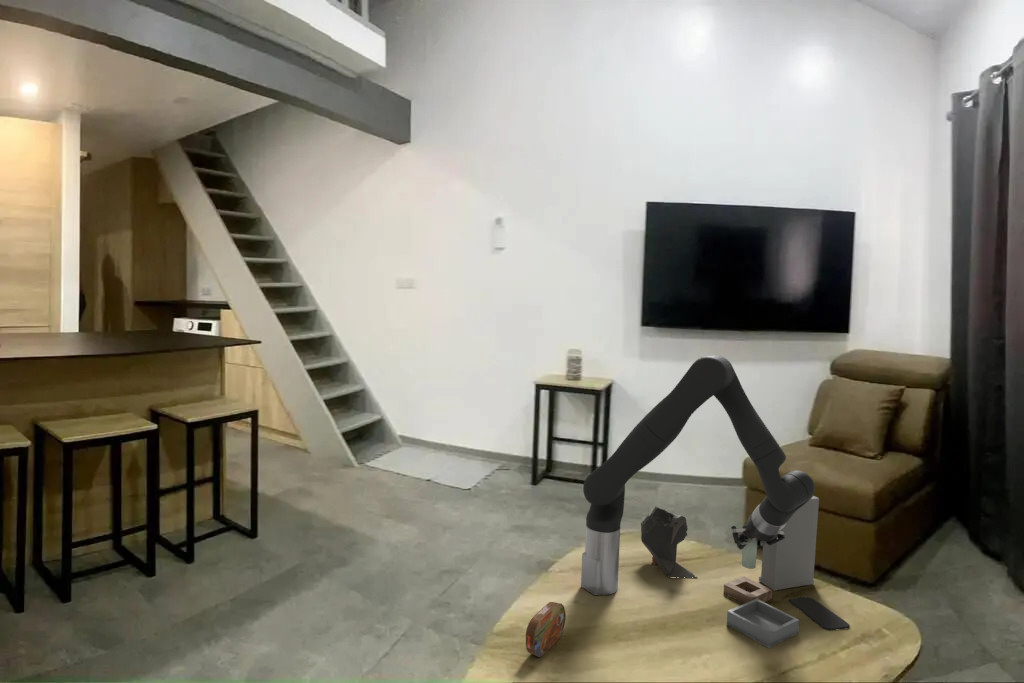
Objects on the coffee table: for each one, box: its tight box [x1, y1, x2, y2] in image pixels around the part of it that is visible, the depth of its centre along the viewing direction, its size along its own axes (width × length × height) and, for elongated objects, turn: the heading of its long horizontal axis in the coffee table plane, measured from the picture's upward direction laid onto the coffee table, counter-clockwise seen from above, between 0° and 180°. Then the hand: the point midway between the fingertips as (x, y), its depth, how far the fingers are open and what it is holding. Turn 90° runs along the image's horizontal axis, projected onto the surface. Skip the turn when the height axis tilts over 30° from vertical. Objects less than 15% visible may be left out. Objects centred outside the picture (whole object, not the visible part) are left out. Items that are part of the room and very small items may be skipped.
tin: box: [525, 601, 567, 658], centre depth 140 cm, size 15×3×8 cm, turn 148°
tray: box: [726, 599, 800, 649], centre depth 149 cm, size 12×12×4 cm
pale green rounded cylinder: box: [741, 540, 758, 570], centre depth 164 cm, size 4×4×10 cm
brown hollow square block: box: [723, 576, 773, 604], centre depth 165 cm, size 9×9×2 cm
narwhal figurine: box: [640, 505, 697, 579], centre depth 181 cm, size 14×15×18 cm
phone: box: [788, 596, 851, 631], centre depth 157 cm, size 7×1×15 cm
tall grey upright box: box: [758, 495, 820, 592], centre depth 172 cm, size 14×6×25 cm, turn 108°
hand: (747, 546), depth 166 cm, fingers closed on pale green rounded cylinder, 3 cm apart
